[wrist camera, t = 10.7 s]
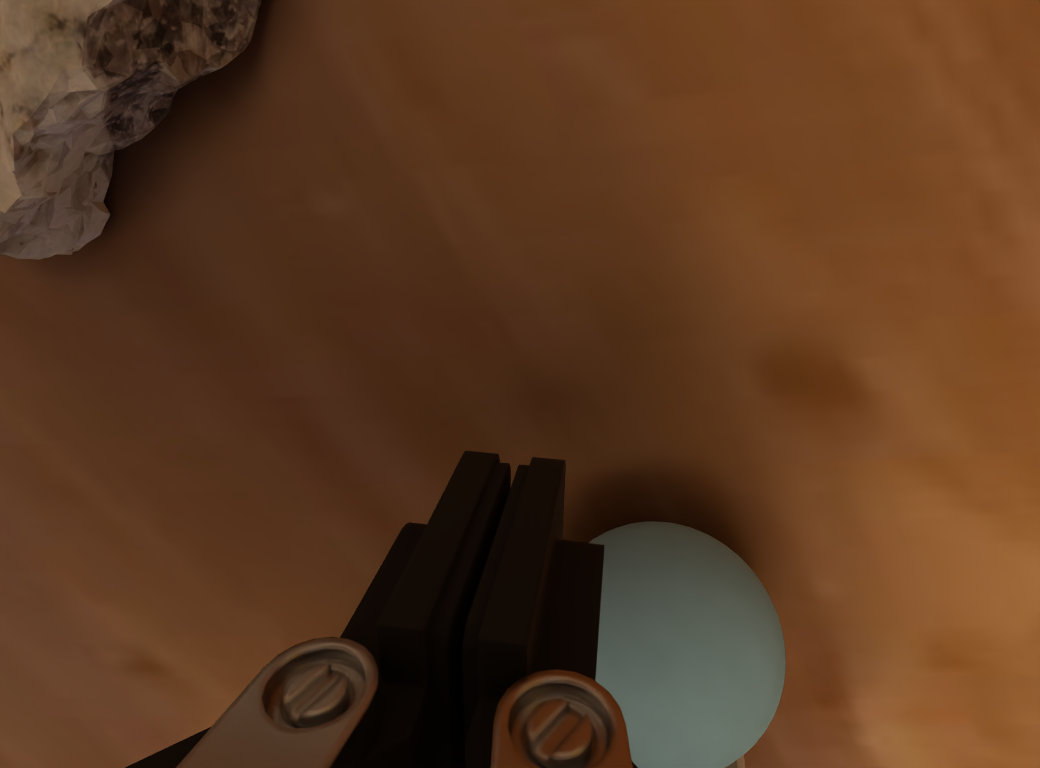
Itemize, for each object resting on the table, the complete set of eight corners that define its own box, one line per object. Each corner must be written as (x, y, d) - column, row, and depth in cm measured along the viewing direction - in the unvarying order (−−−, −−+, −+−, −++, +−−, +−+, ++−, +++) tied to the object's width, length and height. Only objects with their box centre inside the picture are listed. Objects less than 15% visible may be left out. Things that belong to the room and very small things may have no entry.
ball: (513, 796, 12) (502, 513, 14) (587, 774, 16) (568, 562, 19) (825, 787, 10) (747, 473, 13) (811, 765, 15) (756, 536, 18)
